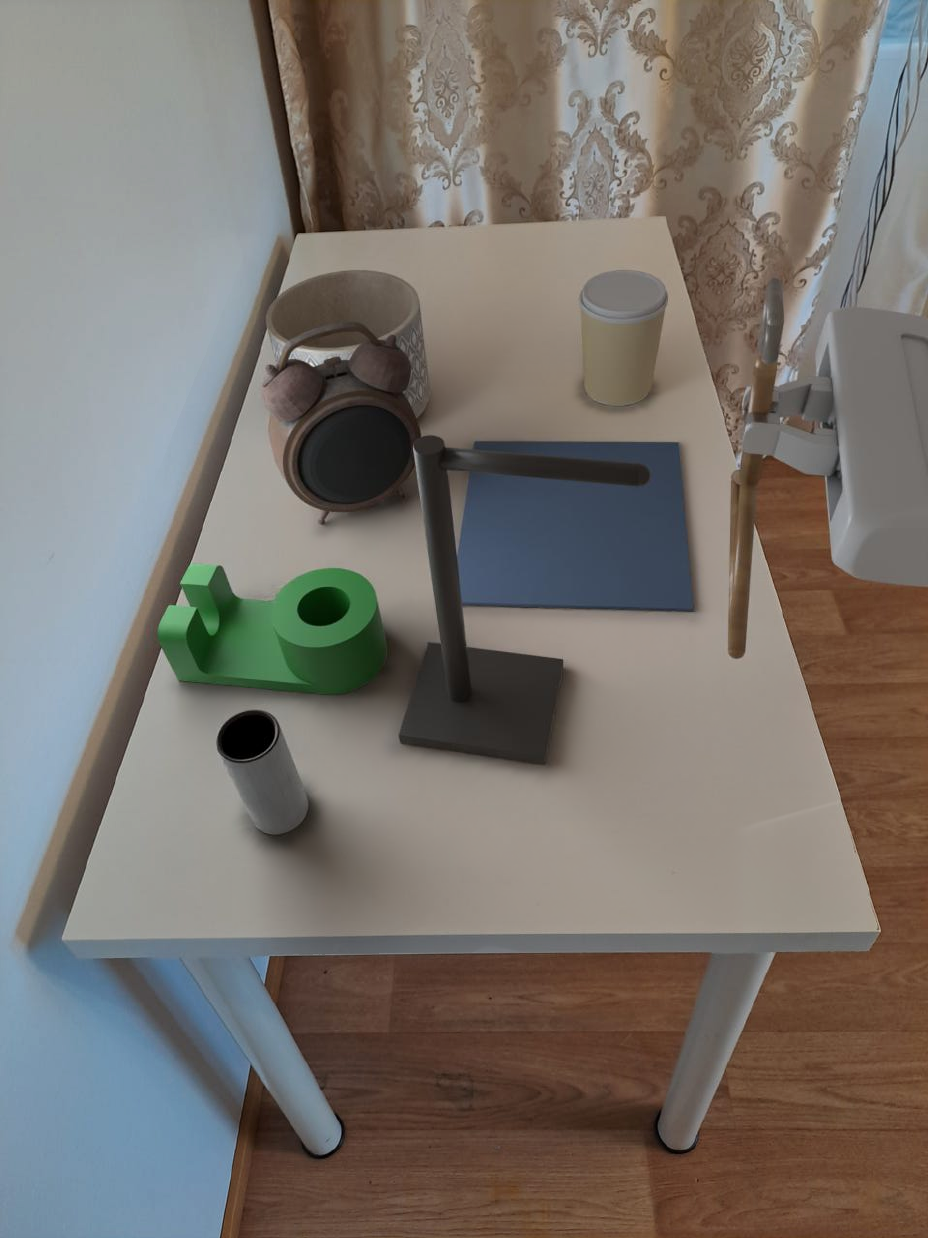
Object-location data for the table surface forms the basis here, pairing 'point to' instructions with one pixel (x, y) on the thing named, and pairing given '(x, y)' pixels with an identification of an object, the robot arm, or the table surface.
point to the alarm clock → (342, 422)
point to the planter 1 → (263, 770)
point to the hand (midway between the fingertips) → (743, 417)
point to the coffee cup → (621, 334)
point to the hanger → (751, 471)
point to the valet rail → (452, 672)
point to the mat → (577, 534)
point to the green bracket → (277, 633)
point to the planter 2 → (353, 299)
